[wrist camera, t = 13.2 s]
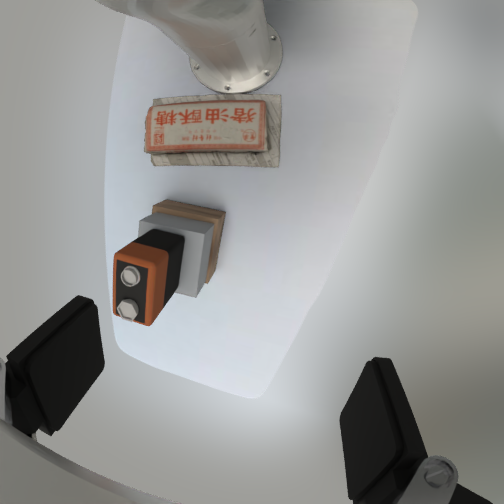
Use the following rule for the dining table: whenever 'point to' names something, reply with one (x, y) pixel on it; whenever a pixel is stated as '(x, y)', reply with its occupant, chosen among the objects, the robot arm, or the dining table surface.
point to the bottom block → (201, 215)
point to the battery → (146, 275)
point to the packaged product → (215, 130)
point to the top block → (186, 247)
